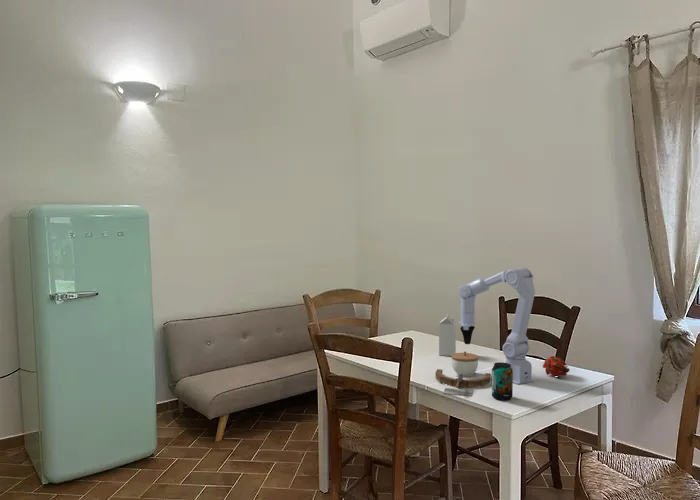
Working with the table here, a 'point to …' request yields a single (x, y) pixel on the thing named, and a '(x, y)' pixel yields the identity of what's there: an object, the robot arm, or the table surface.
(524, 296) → the robot arm
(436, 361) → the table surface
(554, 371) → the dragon fruit
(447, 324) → the milk carton
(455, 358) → the lidded jar
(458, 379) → the indicator
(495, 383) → the beverage can
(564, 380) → the table surface
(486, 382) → the yoke
